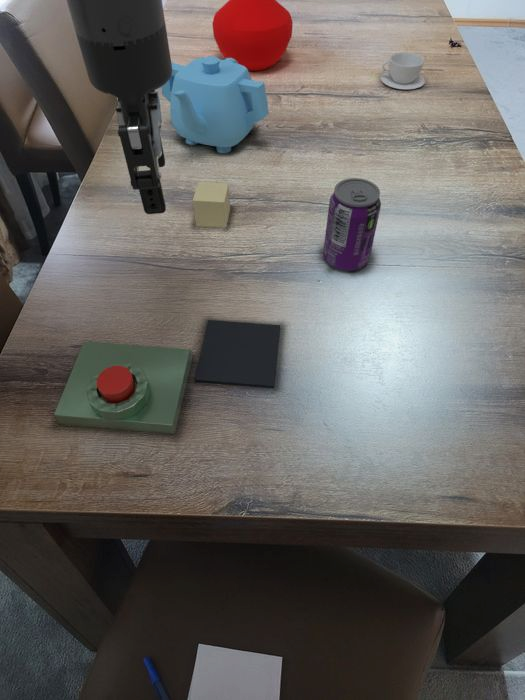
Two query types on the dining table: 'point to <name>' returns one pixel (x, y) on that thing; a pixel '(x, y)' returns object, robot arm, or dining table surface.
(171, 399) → the switch base
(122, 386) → the switch
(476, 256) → the dining table surface
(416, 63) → the teacup
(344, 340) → the dining table surface
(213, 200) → the block
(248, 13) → the vase
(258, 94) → the teapot
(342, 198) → the beverage can
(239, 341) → the mat
